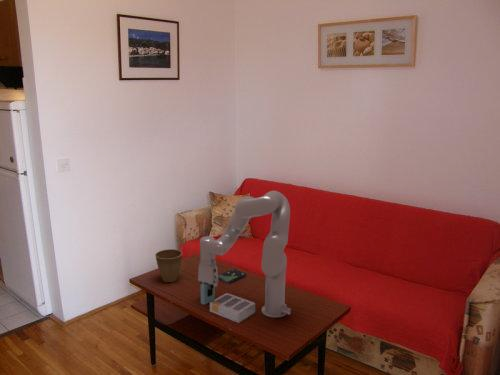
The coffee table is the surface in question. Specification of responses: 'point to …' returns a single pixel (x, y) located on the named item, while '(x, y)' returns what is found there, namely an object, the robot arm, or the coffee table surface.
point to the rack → (232, 307)
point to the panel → (206, 294)
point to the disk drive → (231, 276)
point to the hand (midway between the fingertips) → (207, 294)
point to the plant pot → (169, 264)
